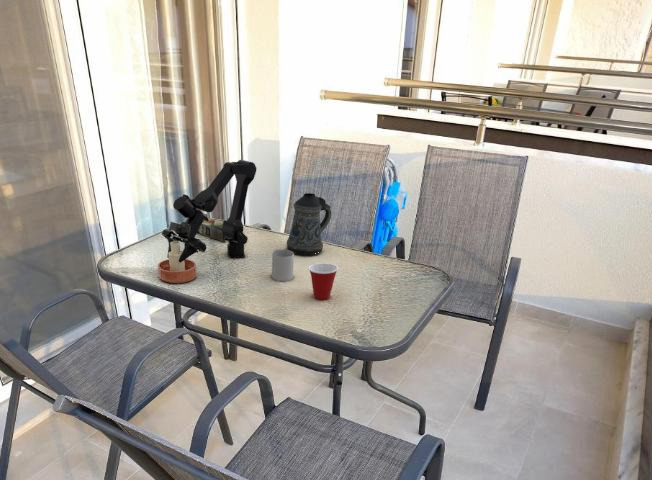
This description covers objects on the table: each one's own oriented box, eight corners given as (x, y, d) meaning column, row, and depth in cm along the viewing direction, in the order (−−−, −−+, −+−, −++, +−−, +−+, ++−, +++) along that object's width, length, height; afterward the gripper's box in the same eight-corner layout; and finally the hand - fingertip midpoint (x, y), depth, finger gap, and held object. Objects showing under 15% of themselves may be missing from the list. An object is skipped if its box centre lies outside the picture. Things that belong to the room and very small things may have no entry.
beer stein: (279, 250, 228) (280, 194, 215) (304, 240, 242) (306, 186, 229) (308, 259, 221) (312, 201, 208) (333, 248, 235) (337, 193, 222)
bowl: (193, 268, 204) (193, 257, 202) (199, 282, 193) (198, 270, 191) (157, 271, 200) (156, 259, 197) (160, 285, 189) (159, 273, 186)
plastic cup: (321, 288, 195) (323, 259, 189) (341, 298, 189) (344, 267, 183) (300, 295, 189) (302, 265, 182) (321, 305, 182) (323, 274, 176)
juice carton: (193, 232, 242) (192, 219, 239) (208, 228, 249) (207, 215, 246) (223, 243, 233) (223, 229, 230) (238, 238, 240) (238, 225, 237)
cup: (296, 275, 205) (297, 252, 199) (287, 282, 198) (287, 258, 193) (278, 271, 207) (278, 248, 202) (268, 278, 201) (268, 254, 196)
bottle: (187, 272, 198) (184, 240, 191) (182, 278, 194) (179, 245, 187) (173, 271, 199) (170, 239, 192) (168, 277, 194) (165, 244, 187)
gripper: (162, 208, 191) (143, 243, 189) (199, 218, 183) (179, 255, 180) (179, 223, 201) (161, 257, 198) (215, 234, 193) (196, 269, 190)
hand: (173, 259), depth 192 cm, fingers closed on bottle, 6 cm apart
